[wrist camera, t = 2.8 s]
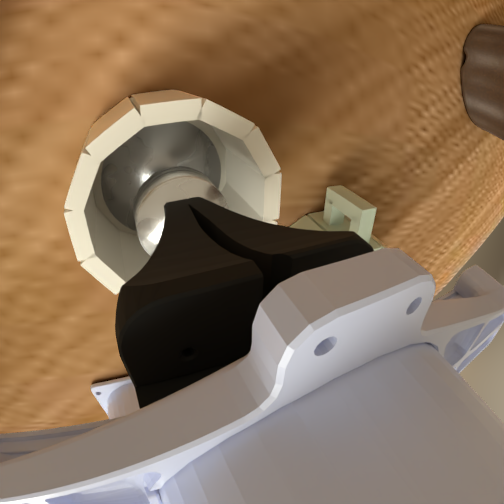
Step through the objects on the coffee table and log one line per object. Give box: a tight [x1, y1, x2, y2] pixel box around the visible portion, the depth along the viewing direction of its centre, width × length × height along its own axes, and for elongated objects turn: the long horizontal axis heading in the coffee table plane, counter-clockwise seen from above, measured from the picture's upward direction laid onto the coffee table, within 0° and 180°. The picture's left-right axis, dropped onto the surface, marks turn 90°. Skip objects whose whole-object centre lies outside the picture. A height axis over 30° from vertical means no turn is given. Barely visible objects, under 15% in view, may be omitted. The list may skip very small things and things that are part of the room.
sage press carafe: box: [290, 185, 389, 251], centre depth 23 cm, size 12×9×6 cm
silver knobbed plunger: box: [101, 121, 229, 256], centre depth 14 cm, size 6×6×6 cm
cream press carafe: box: [64, 89, 282, 295], centre depth 15 cm, size 12×9×6 cm
